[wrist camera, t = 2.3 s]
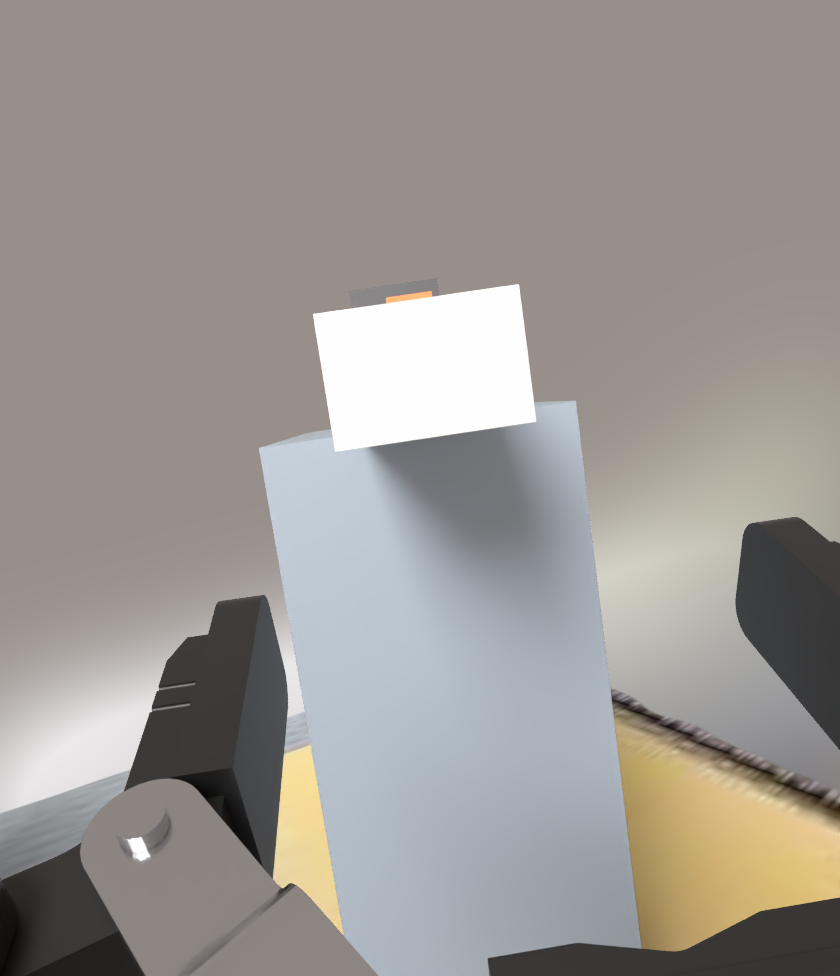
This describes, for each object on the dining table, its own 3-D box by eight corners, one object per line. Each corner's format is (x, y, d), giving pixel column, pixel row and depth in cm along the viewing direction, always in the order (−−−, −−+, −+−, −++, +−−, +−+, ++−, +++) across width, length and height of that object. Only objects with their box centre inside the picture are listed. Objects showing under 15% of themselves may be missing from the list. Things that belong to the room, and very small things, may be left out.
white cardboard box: (536, 421, 16) (499, 130, 15) (335, 451, 16) (288, 160, 15) (446, 412, 42) (431, 305, 41) (370, 423, 41) (353, 316, 41)
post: (674, 1149, 30) (585, 399, 26) (381, 1200, 30) (248, 449, 26) (574, 887, 47) (511, 402, 43) (385, 918, 46) (304, 433, 43)
